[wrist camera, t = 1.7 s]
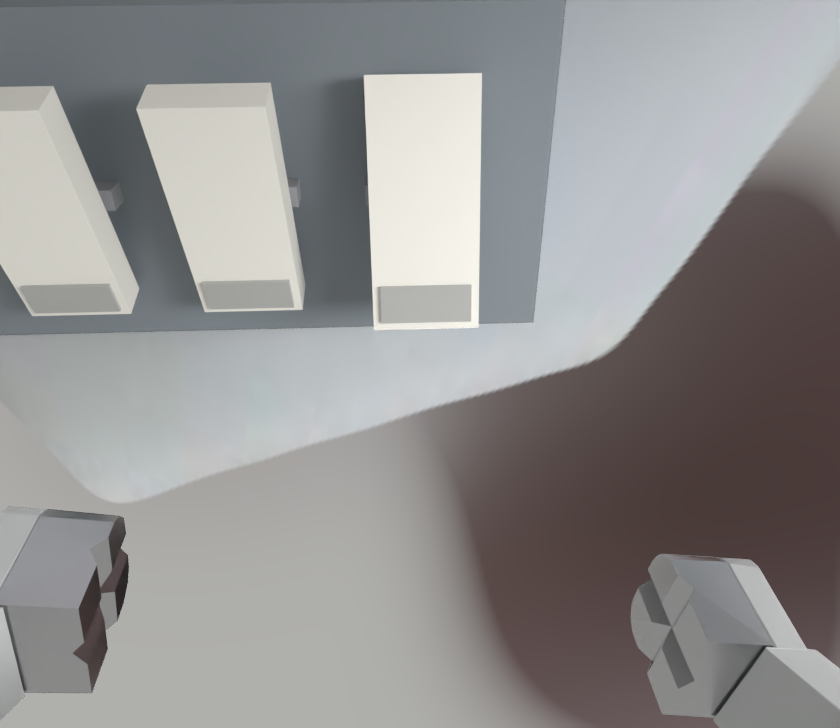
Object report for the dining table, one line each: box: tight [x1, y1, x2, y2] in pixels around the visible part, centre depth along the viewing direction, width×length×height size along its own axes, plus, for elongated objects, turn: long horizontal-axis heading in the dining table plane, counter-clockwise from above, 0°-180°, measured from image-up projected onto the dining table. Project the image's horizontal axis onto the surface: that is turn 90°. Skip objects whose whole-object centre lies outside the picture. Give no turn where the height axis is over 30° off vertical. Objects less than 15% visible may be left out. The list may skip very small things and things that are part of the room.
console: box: [0, 0, 566, 335], centre depth 29 cm, size 24×13×6 cm, turn 90°
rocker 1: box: [0, 86, 139, 316], centre depth 25 cm, size 4×9×2 cm, turn 1°
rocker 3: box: [364, 73, 482, 330], centre depth 25 cm, size 4×9×2 cm, turn 1°
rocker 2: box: [136, 83, 305, 312], centre depth 25 cm, size 4×9×2 cm, turn 0°
